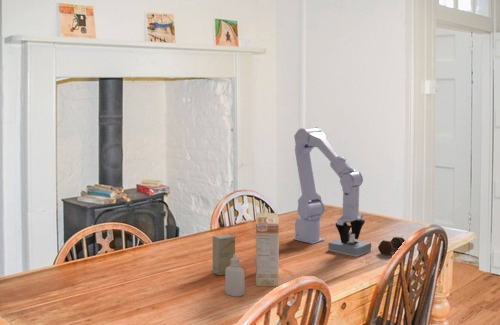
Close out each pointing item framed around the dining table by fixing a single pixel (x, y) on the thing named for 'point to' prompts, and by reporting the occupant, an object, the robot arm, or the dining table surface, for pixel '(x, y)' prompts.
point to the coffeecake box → (267, 249)
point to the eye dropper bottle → (234, 278)
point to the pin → (351, 238)
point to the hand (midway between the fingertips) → (349, 240)
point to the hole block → (349, 247)
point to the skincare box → (222, 252)
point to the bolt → (390, 245)
